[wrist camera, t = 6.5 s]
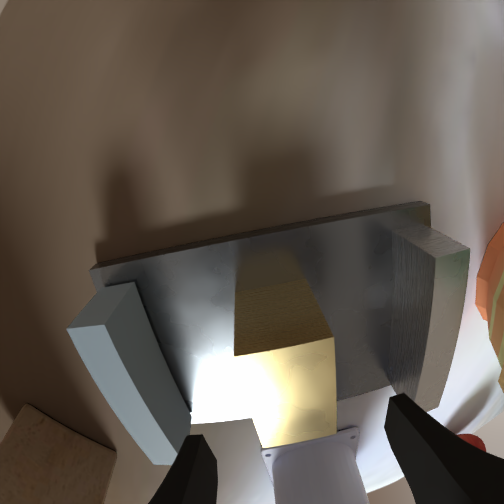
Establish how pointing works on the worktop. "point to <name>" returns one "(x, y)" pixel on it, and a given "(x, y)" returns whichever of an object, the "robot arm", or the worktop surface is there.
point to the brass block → (286, 363)
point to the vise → (326, 293)
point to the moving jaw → (132, 371)
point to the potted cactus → (493, 295)
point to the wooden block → (51, 463)
